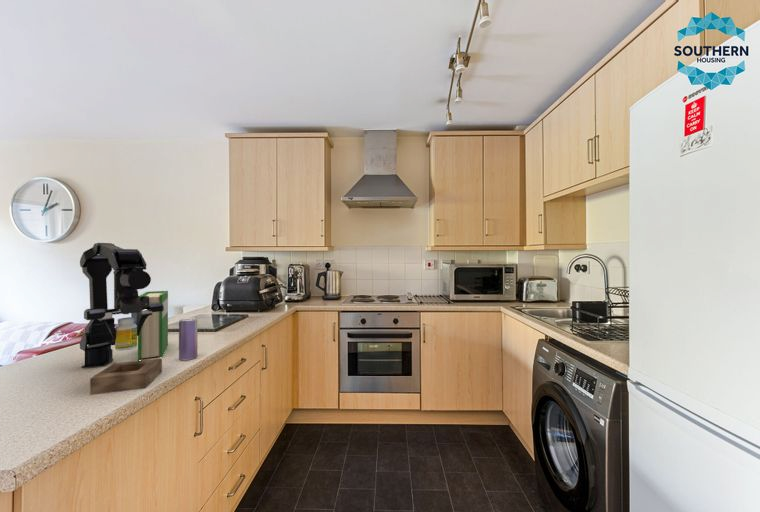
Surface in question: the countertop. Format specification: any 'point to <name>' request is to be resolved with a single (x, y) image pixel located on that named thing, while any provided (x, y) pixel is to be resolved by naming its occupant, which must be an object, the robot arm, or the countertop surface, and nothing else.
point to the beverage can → (188, 338)
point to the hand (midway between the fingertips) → (126, 337)
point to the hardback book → (154, 328)
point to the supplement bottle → (126, 334)
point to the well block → (126, 376)
